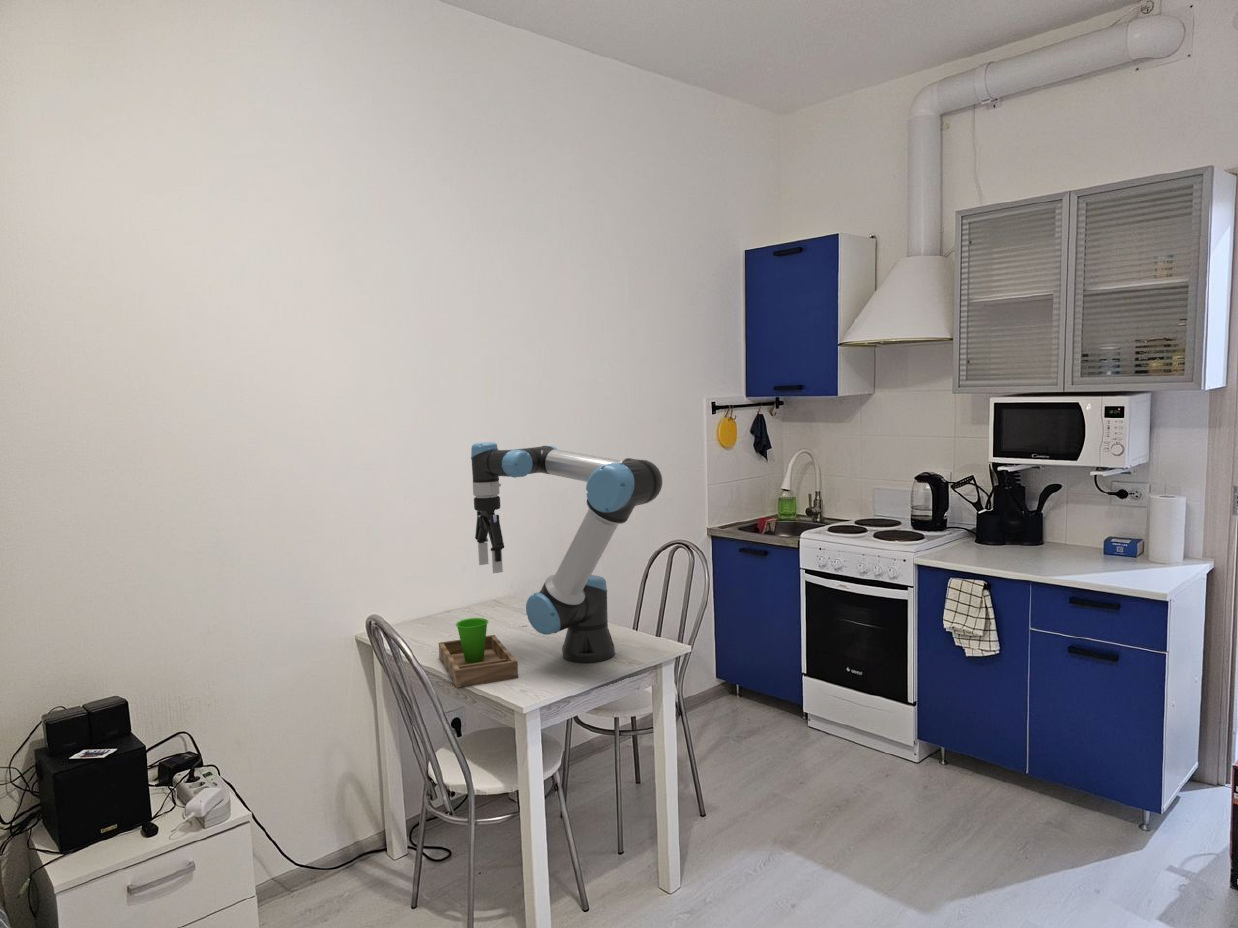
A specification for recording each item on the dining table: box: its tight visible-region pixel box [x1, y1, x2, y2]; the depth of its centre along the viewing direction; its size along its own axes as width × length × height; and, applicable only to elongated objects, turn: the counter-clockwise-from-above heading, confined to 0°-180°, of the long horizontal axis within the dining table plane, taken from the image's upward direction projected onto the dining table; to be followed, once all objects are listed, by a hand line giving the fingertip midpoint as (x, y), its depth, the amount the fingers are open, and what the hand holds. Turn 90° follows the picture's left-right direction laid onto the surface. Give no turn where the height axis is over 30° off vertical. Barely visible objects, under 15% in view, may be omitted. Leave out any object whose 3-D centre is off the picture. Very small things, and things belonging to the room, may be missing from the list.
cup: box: [455, 617, 489, 663], centre depth 230 cm, size 9×9×11 cm
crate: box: [438, 634, 519, 689], centre depth 227 cm, size 26×16×4 cm, turn 22°
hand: (490, 568), depth 237 cm, fingers open, 13 cm apart
